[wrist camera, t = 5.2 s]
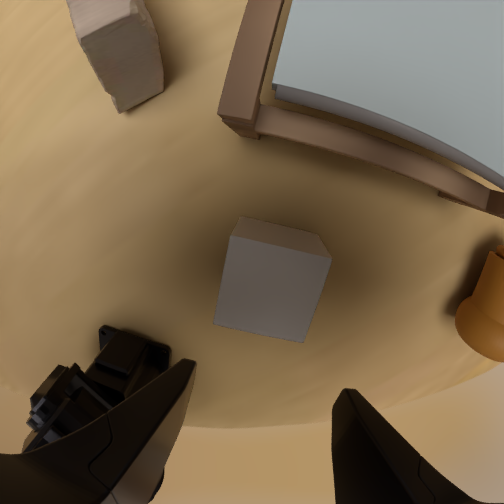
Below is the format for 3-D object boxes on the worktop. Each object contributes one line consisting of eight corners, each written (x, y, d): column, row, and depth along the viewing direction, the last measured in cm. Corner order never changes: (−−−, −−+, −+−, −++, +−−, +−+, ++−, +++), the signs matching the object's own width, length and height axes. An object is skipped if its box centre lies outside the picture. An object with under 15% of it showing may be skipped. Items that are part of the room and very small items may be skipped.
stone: (296, 301, 20) (303, 343, 15) (226, 286, 20) (212, 324, 15) (317, 233, 18) (332, 259, 14) (240, 215, 18) (230, 235, 14)
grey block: (73, 7, 13) (42, -66, 3) (114, -13, 13) (100, -92, 4) (118, 116, 16) (74, 50, 7) (167, 92, 16) (165, 8, 7)
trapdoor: (506, 6, 6) (515, 2, 5) (502, 191, 10) (515, 194, 9) (317, -85, 6) (319, -95, 5) (269, 100, 10) (269, 94, 9)
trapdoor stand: (469, 38, 13) (530, 11, 5) (449, 200, 17) (525, 227, 9) (285, -35, 12) (289, -105, 5) (239, 135, 17) (216, 116, 9)
